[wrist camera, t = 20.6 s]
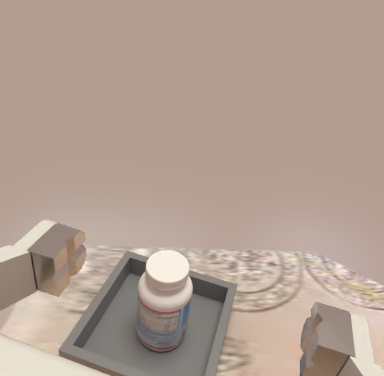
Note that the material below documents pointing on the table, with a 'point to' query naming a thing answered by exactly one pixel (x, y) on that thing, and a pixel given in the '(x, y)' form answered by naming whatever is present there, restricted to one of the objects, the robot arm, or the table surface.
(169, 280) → the pill bottle
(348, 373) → the robot arm
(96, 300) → the tray
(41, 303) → the table surface
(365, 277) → the table surface
